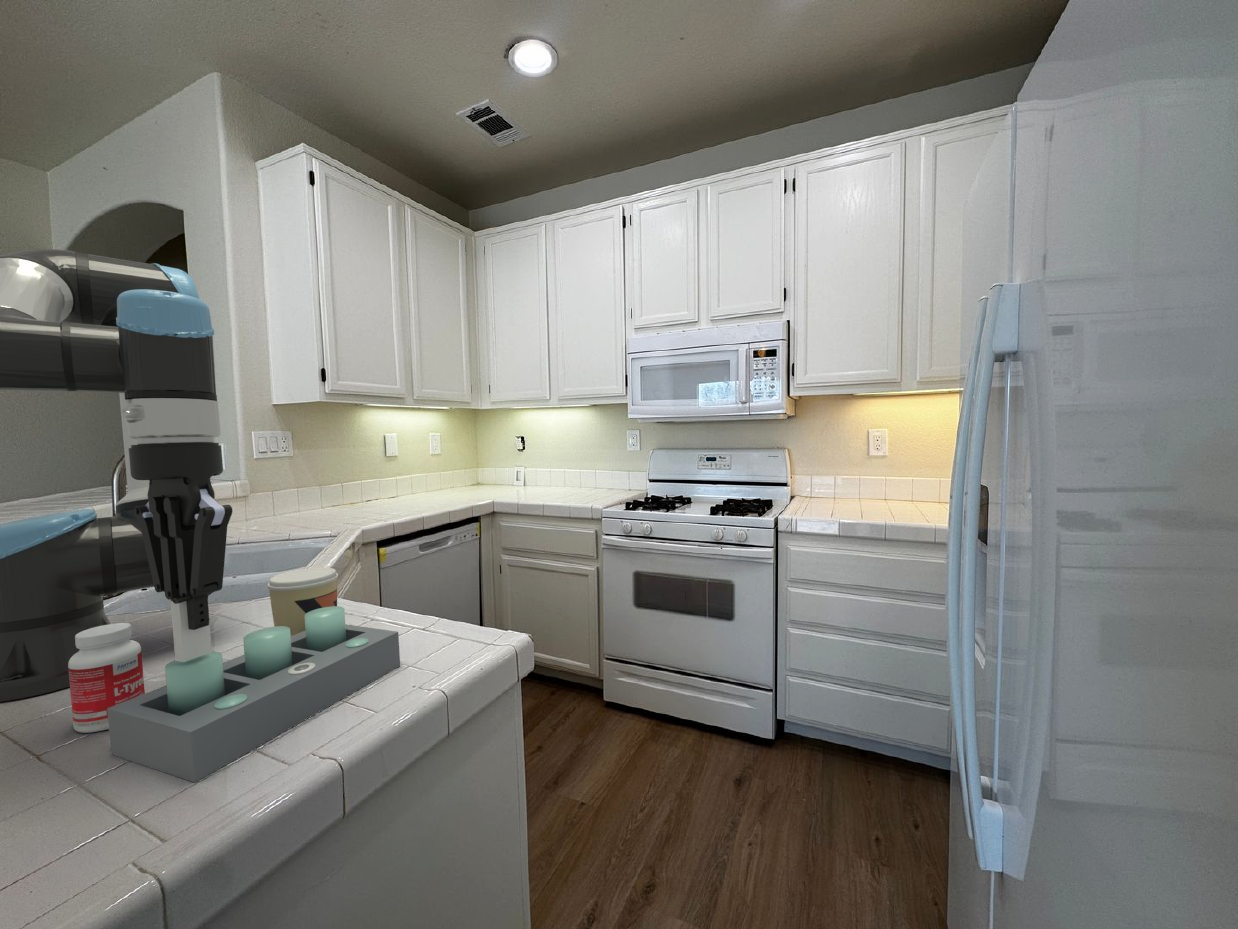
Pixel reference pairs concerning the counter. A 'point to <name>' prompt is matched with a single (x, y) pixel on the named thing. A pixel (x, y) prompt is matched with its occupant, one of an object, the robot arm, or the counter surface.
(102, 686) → the pill bottle
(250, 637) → the button
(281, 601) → the coffee cup
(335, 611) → the button
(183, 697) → the button
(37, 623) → the robot arm
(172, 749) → the board
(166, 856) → the counter surface
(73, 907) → the counter surface
